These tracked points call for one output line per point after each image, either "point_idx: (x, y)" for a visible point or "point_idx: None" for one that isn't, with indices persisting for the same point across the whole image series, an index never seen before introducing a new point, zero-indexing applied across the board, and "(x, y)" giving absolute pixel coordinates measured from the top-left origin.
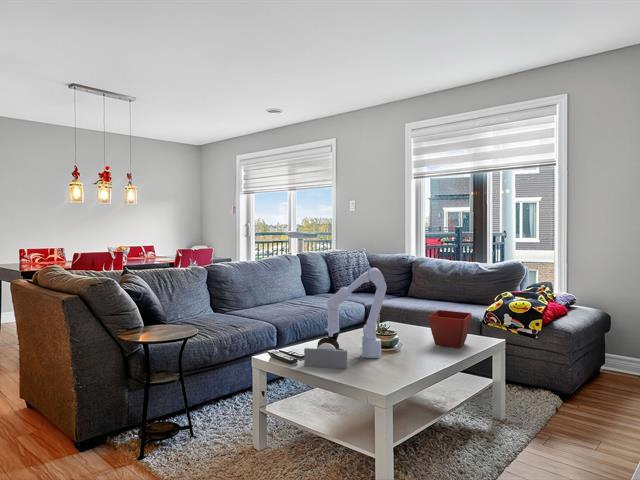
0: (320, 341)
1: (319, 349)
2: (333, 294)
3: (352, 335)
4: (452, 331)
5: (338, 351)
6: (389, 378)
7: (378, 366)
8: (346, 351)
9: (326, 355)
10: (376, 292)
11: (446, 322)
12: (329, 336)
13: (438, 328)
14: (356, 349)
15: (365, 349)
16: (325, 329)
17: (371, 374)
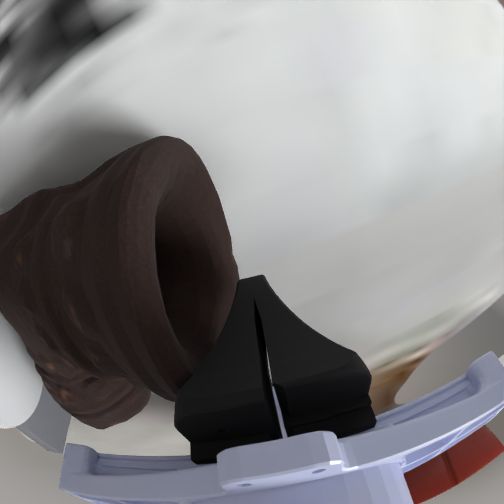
0: (82, 254)
1: None
2: None
3: None
4: (414, 477)
5: (18, 427)
6: (102, 452)
7: (176, 439)
8: (47, 449)
9: None
10: None
11: (424, 490)
12: (74, 447)
13: (433, 469)
14: (417, 313)
15: (282, 431)
16: (225, 483)
17: (90, 432)
